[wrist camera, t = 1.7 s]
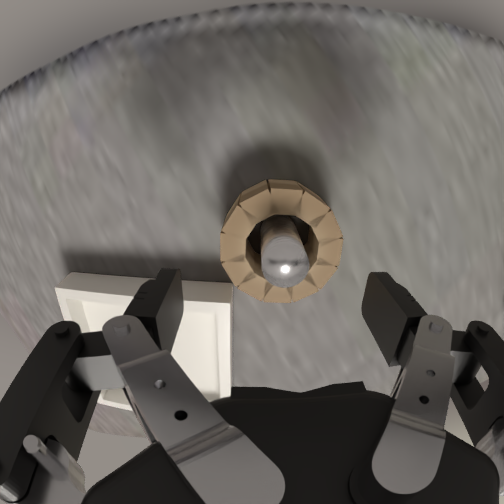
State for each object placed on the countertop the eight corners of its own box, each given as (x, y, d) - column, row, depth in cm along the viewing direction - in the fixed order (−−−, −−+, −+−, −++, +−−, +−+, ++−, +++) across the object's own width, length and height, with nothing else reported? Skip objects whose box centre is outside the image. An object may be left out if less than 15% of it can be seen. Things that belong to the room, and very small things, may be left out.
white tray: (233, 283, 20) (230, 303, 17) (232, 402, 24) (231, 423, 22) (71, 271, 20) (54, 287, 17) (106, 385, 24) (98, 402, 22)
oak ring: (334, 183, 17) (349, 193, 14) (322, 279, 19) (331, 303, 17) (226, 177, 17) (221, 186, 14) (225, 275, 19) (220, 300, 17)
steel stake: (297, 215, 18) (312, 245, 13) (294, 248, 19) (306, 288, 14) (261, 213, 18) (263, 243, 13) (259, 247, 19) (260, 287, 14)
